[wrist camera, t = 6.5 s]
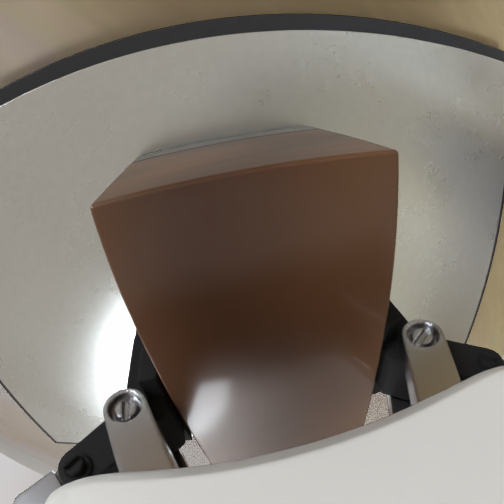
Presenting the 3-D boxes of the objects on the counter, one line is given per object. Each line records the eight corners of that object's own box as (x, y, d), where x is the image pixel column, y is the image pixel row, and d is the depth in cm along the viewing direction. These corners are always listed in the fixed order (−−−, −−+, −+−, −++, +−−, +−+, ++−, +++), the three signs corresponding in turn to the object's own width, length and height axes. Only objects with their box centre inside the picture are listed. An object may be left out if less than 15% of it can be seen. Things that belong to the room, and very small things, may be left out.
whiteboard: (498, 51, 9) (509, 52, 9) (459, 348, 19) (464, 355, 18) (-97, 162, 7) (-106, 166, 6) (56, 437, 16) (54, 446, 15)
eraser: (308, 125, 9) (400, 149, 5) (319, 376, 15) (355, 456, 11) (137, 156, 9) (87, 206, 5) (214, 401, 15) (227, 488, 10)
